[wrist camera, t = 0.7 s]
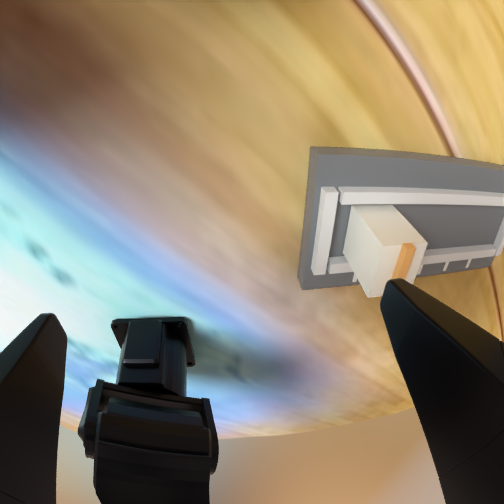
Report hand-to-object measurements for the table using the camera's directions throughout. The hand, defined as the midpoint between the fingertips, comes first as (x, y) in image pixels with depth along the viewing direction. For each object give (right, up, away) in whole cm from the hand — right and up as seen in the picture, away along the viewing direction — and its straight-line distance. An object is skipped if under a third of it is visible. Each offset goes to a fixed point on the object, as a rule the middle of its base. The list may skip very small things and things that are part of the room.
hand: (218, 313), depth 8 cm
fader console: (+14, +4, +14) cm, 21 cm away
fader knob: (+8, +3, +12) cm, 15 cm away
